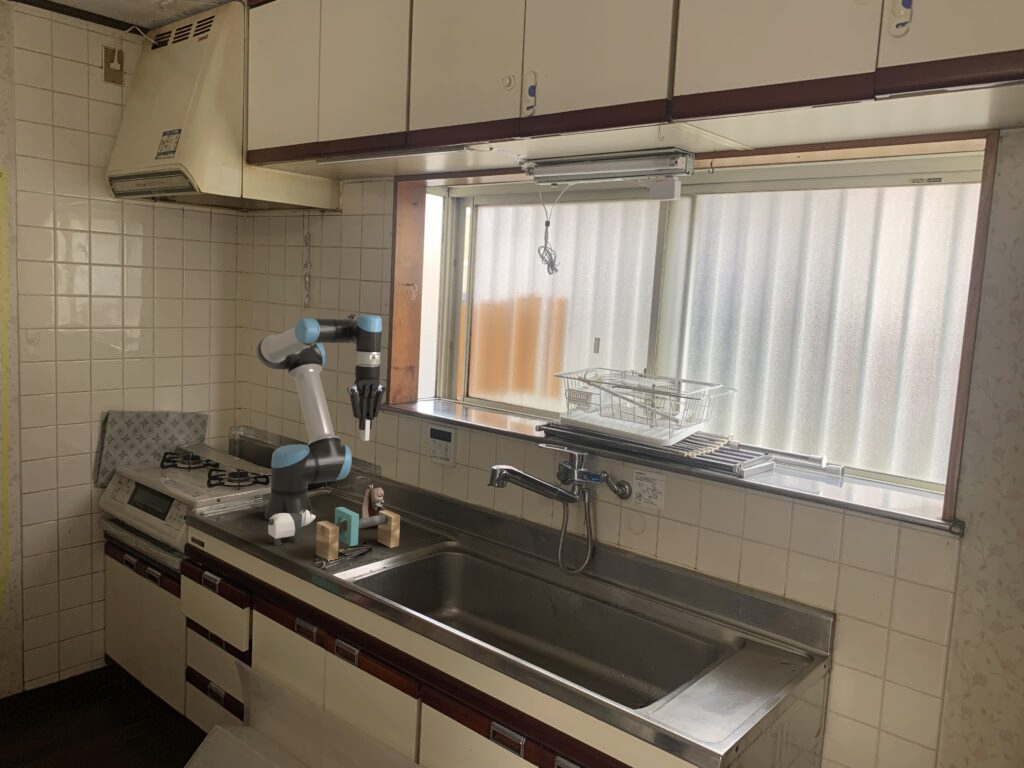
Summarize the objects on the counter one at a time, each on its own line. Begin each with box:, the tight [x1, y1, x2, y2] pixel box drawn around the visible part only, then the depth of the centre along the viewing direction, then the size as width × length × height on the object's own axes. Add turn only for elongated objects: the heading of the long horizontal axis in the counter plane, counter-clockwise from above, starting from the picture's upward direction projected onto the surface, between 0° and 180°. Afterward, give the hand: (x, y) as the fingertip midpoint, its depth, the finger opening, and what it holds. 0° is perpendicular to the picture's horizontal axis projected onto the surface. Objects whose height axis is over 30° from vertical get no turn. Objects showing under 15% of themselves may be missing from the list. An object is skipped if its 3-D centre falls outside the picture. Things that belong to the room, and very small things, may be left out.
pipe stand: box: [315, 509, 401, 562], centre depth 228 cm, size 24×7×10 cm, turn 133°
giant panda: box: [267, 508, 317, 546], centre depth 233 cm, size 15×6×10 cm, turn 130°
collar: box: [334, 506, 360, 547], centre depth 225 cm, size 2×9×9 cm, turn 43°
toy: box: [361, 483, 388, 529], centre depth 251 cm, size 9×8×15 cm
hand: (364, 439), depth 243 cm, fingers closed
